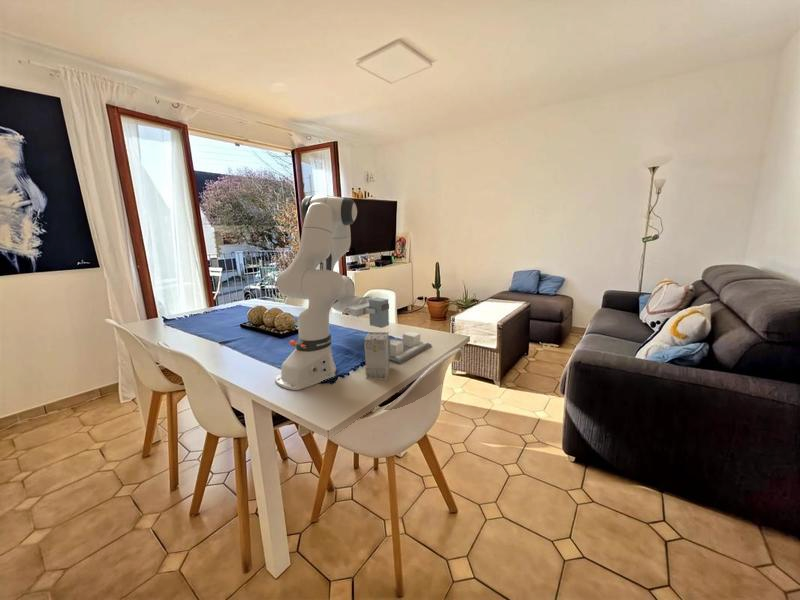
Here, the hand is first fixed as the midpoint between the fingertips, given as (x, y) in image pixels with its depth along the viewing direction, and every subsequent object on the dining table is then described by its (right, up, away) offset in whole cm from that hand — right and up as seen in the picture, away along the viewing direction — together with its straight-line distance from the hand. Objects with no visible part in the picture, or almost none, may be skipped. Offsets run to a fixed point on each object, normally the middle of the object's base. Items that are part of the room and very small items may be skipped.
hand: (380, 310), depth 147 cm
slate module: (-1, -7, +2) cm, 7 cm away
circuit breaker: (+1, -22, -22) cm, 31 cm away
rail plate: (+10, -18, -3) cm, 21 cm away
